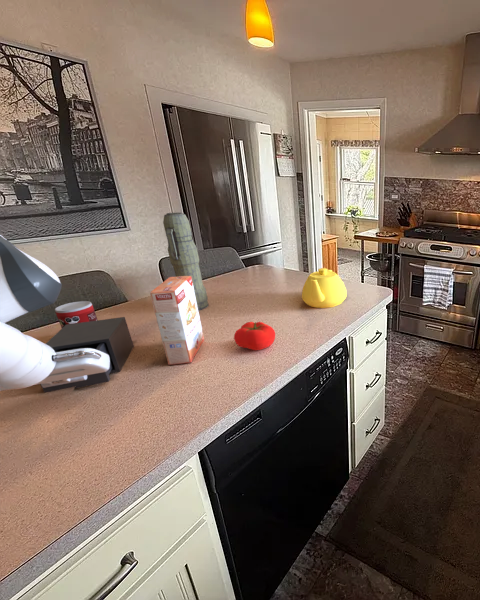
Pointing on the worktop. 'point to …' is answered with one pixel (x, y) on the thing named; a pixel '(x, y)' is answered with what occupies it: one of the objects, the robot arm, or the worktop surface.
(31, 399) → the worktop surface
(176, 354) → the cracker box
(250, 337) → the tomato
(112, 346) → the small drawer unit
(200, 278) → the thermos
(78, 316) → the canned food
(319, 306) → the teapot
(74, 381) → the drawer
